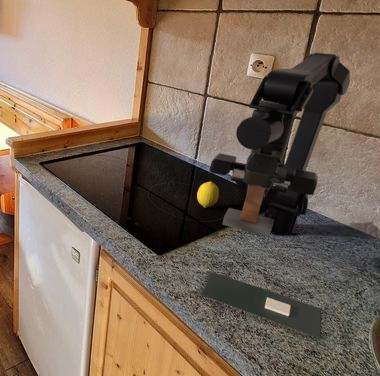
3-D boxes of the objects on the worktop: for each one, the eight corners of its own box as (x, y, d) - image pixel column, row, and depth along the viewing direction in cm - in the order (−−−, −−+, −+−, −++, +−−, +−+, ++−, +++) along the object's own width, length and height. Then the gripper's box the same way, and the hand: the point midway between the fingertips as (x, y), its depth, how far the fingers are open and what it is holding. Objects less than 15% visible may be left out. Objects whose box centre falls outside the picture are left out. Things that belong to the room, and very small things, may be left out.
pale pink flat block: (290, 307, 77) (290, 305, 76) (288, 316, 74) (289, 314, 74) (266, 299, 78) (267, 297, 78) (264, 308, 76) (265, 305, 76)
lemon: (205, 213, 111) (211, 187, 107) (190, 205, 115) (195, 179, 112) (219, 209, 113) (226, 183, 110) (204, 201, 118) (210, 176, 114)
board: (320, 310, 77) (321, 308, 76) (319, 341, 70) (320, 338, 70) (210, 273, 86) (211, 271, 86) (200, 297, 79) (201, 294, 79)
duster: (271, 227, 86) (286, 179, 81) (268, 237, 82) (283, 188, 77) (227, 215, 90) (238, 169, 85) (222, 224, 86) (233, 177, 82)
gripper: (211, 139, 76) (195, 212, 83) (327, 161, 67) (299, 241, 74) (223, 126, 85) (208, 193, 91) (328, 144, 76) (303, 218, 82)
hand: (251, 210), depth 84 cm, fingers closed on duster, 3 cm apart
